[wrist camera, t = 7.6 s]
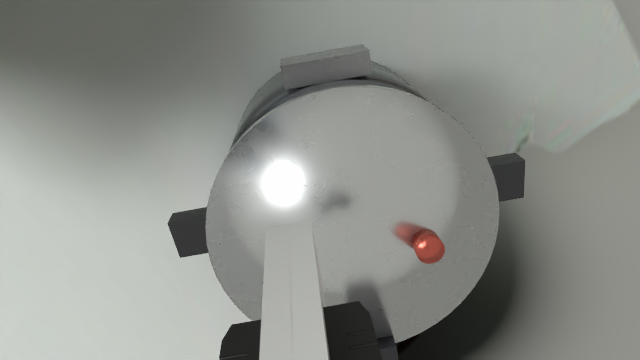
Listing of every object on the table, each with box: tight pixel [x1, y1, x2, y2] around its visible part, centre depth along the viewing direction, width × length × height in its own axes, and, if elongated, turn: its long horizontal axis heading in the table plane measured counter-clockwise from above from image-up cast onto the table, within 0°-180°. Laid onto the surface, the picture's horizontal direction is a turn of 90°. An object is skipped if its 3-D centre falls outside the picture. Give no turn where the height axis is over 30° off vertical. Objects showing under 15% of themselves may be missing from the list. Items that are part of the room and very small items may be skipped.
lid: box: [205, 84, 500, 360], centre depth 32 cm, size 21×28×3 cm
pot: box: [168, 45, 525, 258], centre depth 38 cm, size 28×22×12 cm
